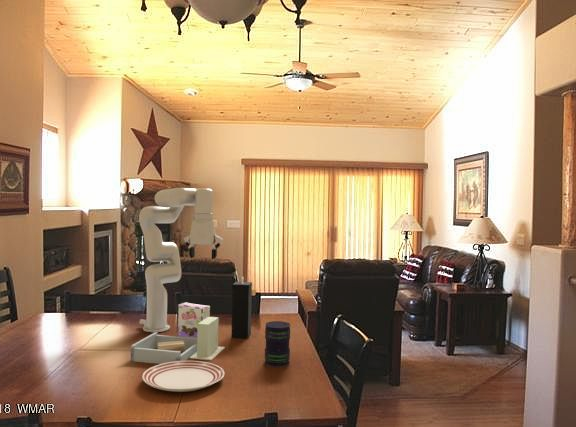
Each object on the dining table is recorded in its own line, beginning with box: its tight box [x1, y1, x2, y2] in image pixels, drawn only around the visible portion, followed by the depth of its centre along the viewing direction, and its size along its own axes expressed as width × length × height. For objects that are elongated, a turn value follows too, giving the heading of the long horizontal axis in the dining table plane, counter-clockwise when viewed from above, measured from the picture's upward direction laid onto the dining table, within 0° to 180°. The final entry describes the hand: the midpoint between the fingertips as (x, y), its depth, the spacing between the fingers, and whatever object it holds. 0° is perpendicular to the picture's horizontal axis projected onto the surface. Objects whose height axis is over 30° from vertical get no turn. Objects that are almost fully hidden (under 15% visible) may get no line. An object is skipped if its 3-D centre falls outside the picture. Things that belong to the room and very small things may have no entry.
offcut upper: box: [156, 341, 185, 352], centre depth 175 cm, size 4×10×3 cm, turn 112°
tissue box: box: [231, 276, 253, 339], centre depth 206 cm, size 8×8×28 cm
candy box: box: [177, 301, 211, 338], centre depth 196 cm, size 14×6×16 cm, turn 62°
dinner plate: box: [141, 360, 225, 393], centre depth 151 cm, size 27×27×3 cm
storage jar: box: [264, 320, 291, 368], centre depth 171 cm, size 10×10×15 cm
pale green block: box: [197, 316, 220, 357], centre depth 181 cm, size 4×12×13 cm, turn 169°
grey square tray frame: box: [130, 332, 197, 365], centre depth 177 cm, size 20×19×6 cm
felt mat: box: [189, 345, 225, 361], centre depth 181 cm, size 9×16×1 cm, turn 169°
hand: (202, 258), depth 187 cm, fingers open, 9 cm apart
